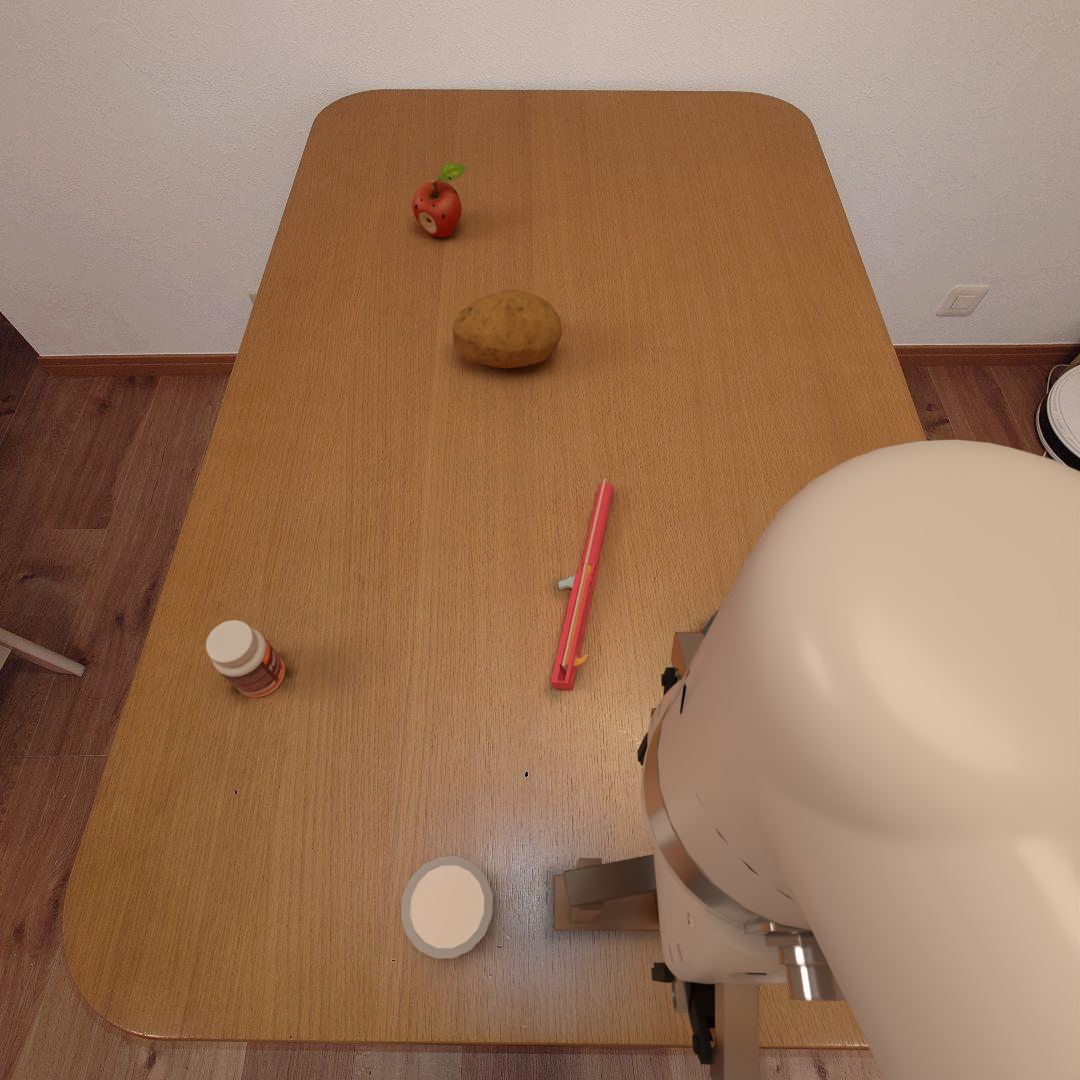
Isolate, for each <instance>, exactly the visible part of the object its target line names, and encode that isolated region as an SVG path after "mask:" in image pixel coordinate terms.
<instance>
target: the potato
mask: <svg viewBox="0 0 1080 1080" xmlns="http://www.w3.org/2000/svg"><path fill="white" fill-rule="evenodd" d="M562 334H563V327H562V321H561V317H560V315H559V314H558V311H556V309H555V307H554V306H553V305H552V303H550V302H549V301H547V300H546V299H544V298H542V297H541V296H539V295H536V294H533V293H530V292H529V291H528V292H527V291H524V290H520V289H518V288H517V289H516V288H515V289H514V288H513V289H505V290H502V291H498V292H496V293H493V294H490V295H487V296H484V297H481V298H478V299H477V300H475V301H473V302H472V303H470V304H468V305H467V306H466V307H464V308H463V309H461V310H460V312H459V313H458V315H457V317H456V318H455V320H454V321H453V322H452V335H453V344H454V345H453V346H454V348H456V349H457V350H458V352H460V353H461V354H462V355H463V356H464V357H465V358H466V359H467V360H468V361H470V362H473V363H476V364H479V365H483V366H486V367H492V368H497V369H498V368H499V369H512V368H513V369H515V368H522V367H526V366H532V365H535V364H537V363H541V362H543V361H544V360H546V359H547V358H548V357H549V356H550V355H552V354H553V352H554V351H555V350H556V348H557V346H558V344H559V343H560V340H561V338H562Z"/></svg>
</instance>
